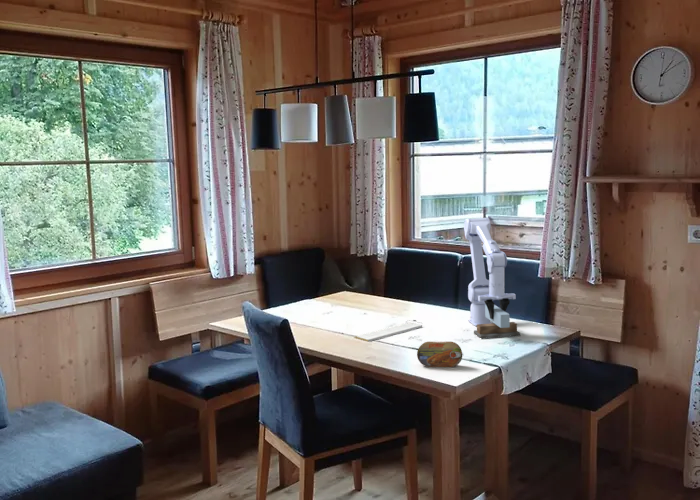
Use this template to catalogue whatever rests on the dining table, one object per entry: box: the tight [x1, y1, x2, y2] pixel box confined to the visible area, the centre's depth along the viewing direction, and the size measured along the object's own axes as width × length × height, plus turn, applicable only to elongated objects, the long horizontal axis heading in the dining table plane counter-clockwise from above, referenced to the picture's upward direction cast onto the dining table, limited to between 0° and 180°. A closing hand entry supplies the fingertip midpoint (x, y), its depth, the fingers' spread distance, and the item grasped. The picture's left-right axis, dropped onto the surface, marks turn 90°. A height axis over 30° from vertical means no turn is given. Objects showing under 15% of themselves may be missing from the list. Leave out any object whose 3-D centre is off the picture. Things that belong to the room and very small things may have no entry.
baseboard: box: [353, 319, 423, 343], centre depth 273 cm, size 30×3×10 cm
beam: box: [485, 304, 511, 328], centre depth 263 cm, size 18×4×5 cm, turn 7°
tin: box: [416, 341, 463, 368], centre depth 227 cm, size 15×3×8 cm, turn 80°
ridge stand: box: [473, 321, 522, 339], centre depth 263 cm, size 16×8×4 cm, turn 98°
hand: (496, 318), depth 263 cm, fingers closed on beam, 3 cm apart
